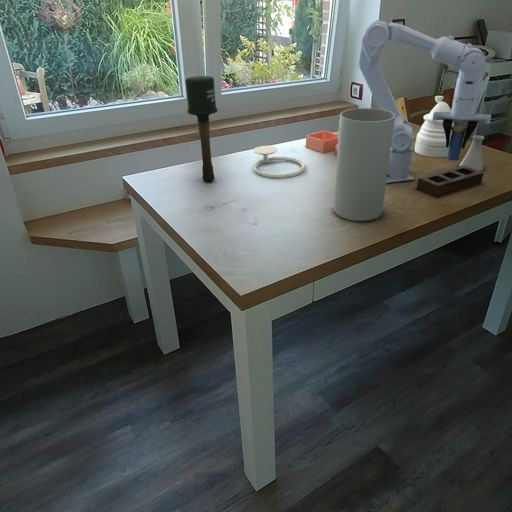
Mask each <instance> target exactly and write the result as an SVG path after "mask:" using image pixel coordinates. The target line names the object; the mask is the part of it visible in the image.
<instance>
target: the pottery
mask: <svg viewBox="0 0 512 512" xmlns="http://www.w3.org/2000/svg"><path fill="white" fill-rule="evenodd" d="M338 137H339V133H335V132H332V131H328V130H322V131H318V132H313V133H310V134H307V135H305V147H306V148H308V149H311V150H313V151H317V152H318V153H319V152H320V153H322V154H324V153H328V152H330V151H334V152H335V155H336V156H337V152H338Z"/></svg>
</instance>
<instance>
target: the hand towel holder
mask: <svg viewBox="0 0 512 512" xmlns="http://www.w3.org/2000/svg"><path fill="white" fill-rule="evenodd" d="M252 151H253V153H255V154H257V155H261V156H262V159H260V160H257V161H256V162H255V163H254V165H253V167H252V169H253V171H254V173H256V174H257V175H259V176H262V177H266V178H270V179H286V178H287V179H288V178H292V177H296V176H299V175H300V174H302V173H303V172H304V171H305V169H306V165H305V163H304V162H303V161H302V160H300V159H297V158H294V157H289V156H271V157H269V156H268V155H273V154H275V153H276V152H278V148H277V147H275V146H273V145H260V146H256V147H254V148H253V150H252ZM273 161H274V162H275V161H288V162H292V163H297V164H299V166H301V168H300V169H299V170H296V171H294V172H289V173H282V174H281V173H280V174H279V173H278V174H277V173H267V172H263V171H261V170H258V169H257V167H258V166H259V165H261V164H267V163H268V162H273Z"/></svg>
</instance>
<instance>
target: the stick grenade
mask: <svg viewBox="0 0 512 512" xmlns="http://www.w3.org/2000/svg"><path fill="white" fill-rule="evenodd" d="M184 81H185V89H186V98H187V110H186V111H187V114H188V115H191V116H192V115H193V116H196V118H197V126H198V127H197V128H198V134H199V137H200V148H201V158H202V165H201V167H202V169H201V170H202V175H201V176H202V180H203V181H204V182H205V183H211V182H213V181H215V173H214V166H213V163H212V153H211V152H212V151H211V141H210V140H211V139H210V135H211V129H210V115H212V114H215V113H217V112H218V107H217V103H216V102H217V101H216V90H215V89H216V88H215V87H216V86H215V79H214V77H213V76H209V75H195V76H190V77H187V78H186V79H185V80H184Z"/></svg>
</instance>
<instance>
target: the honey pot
mask: <svg viewBox="0 0 512 512" xmlns="http://www.w3.org/2000/svg"><path fill="white" fill-rule="evenodd" d="M434 100H435V102H436V103H437V104H435V106H434V107H433V108H432V109H431V111H430V112H429V113H426V114H424V115H423V120H424V122H423V123H422V125H421V127H420V129H419V131H418V133H417V134H416V139H415V144H414V148H413V151H414V152H415V153H416V154H419V156H424V157H430V158H447V155H448V150H449V147H446V136H445V132H444V128H443V120H436V121H434V120H432V119H433V113H434V112H451V108H450V106H449V104H448V103H447V102H445V101H443V100H444V96H443V95H436V96H434ZM452 126H455V121H453V124H452ZM451 134H452V130H451ZM451 134H450V140H451ZM449 145H450V143H449Z"/></svg>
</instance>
